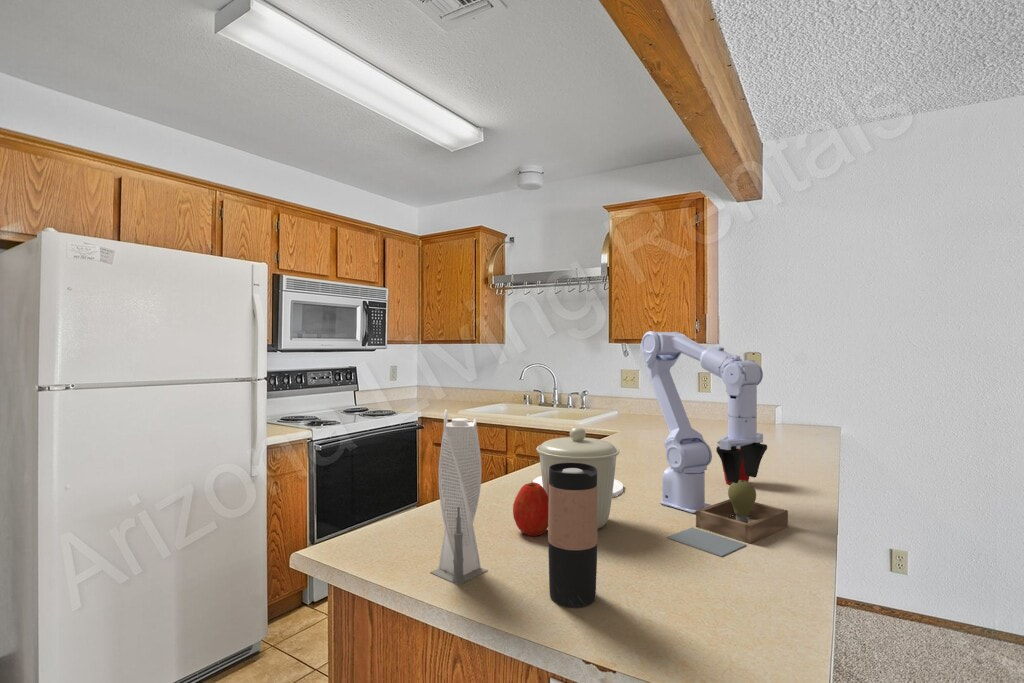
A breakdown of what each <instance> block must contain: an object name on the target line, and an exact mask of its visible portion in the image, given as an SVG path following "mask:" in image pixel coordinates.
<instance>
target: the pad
mask: <svg viewBox="0 0 1024 683" xmlns="http://www.w3.org/2000/svg"><path fill="white" fill-rule="evenodd" d="M668 538H669V539H668ZM666 539H668V540H671V539H672V540H671V541H674V540H675V541H674V542H677V541H678V542H677V543H680V542H681V543H680V544H683V545H685V546H688V545H689V547H691V546H692V548H694V547H695V548H694V549H697V548H698V549H697V550H700V551H703V552H706V553H708V554H712V555H715V556H718V557H721V558H722V557H725V556H727V555H729V554H731V553H733V552H736V551H738V550H740V549H742V548H744V547H746V546H747V544H746V543H744V542H741V541H738V540H737V541H735V539H730V538H727V537H725V536H722V535H719V534H716V533H711V532H707V531H706V530H703V529H702V530H701V529H700V528H697V527H696V528H695V527H689V528H687V529H683V530H681V531H679V532H676V533H674V534H670V535H668V536H666Z"/></svg>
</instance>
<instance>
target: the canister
mask: <svg viewBox="0 0 1024 683" xmlns="http://www.w3.org/2000/svg"><path fill="white" fill-rule="evenodd" d="M586 434H587V433H586V430H585V428H583V427H579V426H577V427H573V428H571V429H570V430H569V436H568V437H566V436H565V437H557V438H552V439H547V440H545V441H543V442H542V444H539V445H538V446H537V447H536V452H537V453H538V454H539V463H540V473H541V474H540V475H541V476H542V484H543V488H544V490H545V491H546V493H547V495H548V498H549V467H550V466H551V465H554V464H558V463H583V464H588V465H592V466H594V467H596V469H597V530H599V529H600V528H602V527H604V526H605V525H606V523H607V522H608V520H609V517H610V513H611V507H612V500H613V499H612V498H613V497H612V493H613V484H614V479H615V476H616V475H615V473H616V464H617V457H618V455H619V454H620V453H621V450H620V449H619V448H618V447H616V446H615V445H614V444H613V443H611V442H610V441H606V440H603V439H598V438H595V437H594V438H593V437H586Z"/></svg>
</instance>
